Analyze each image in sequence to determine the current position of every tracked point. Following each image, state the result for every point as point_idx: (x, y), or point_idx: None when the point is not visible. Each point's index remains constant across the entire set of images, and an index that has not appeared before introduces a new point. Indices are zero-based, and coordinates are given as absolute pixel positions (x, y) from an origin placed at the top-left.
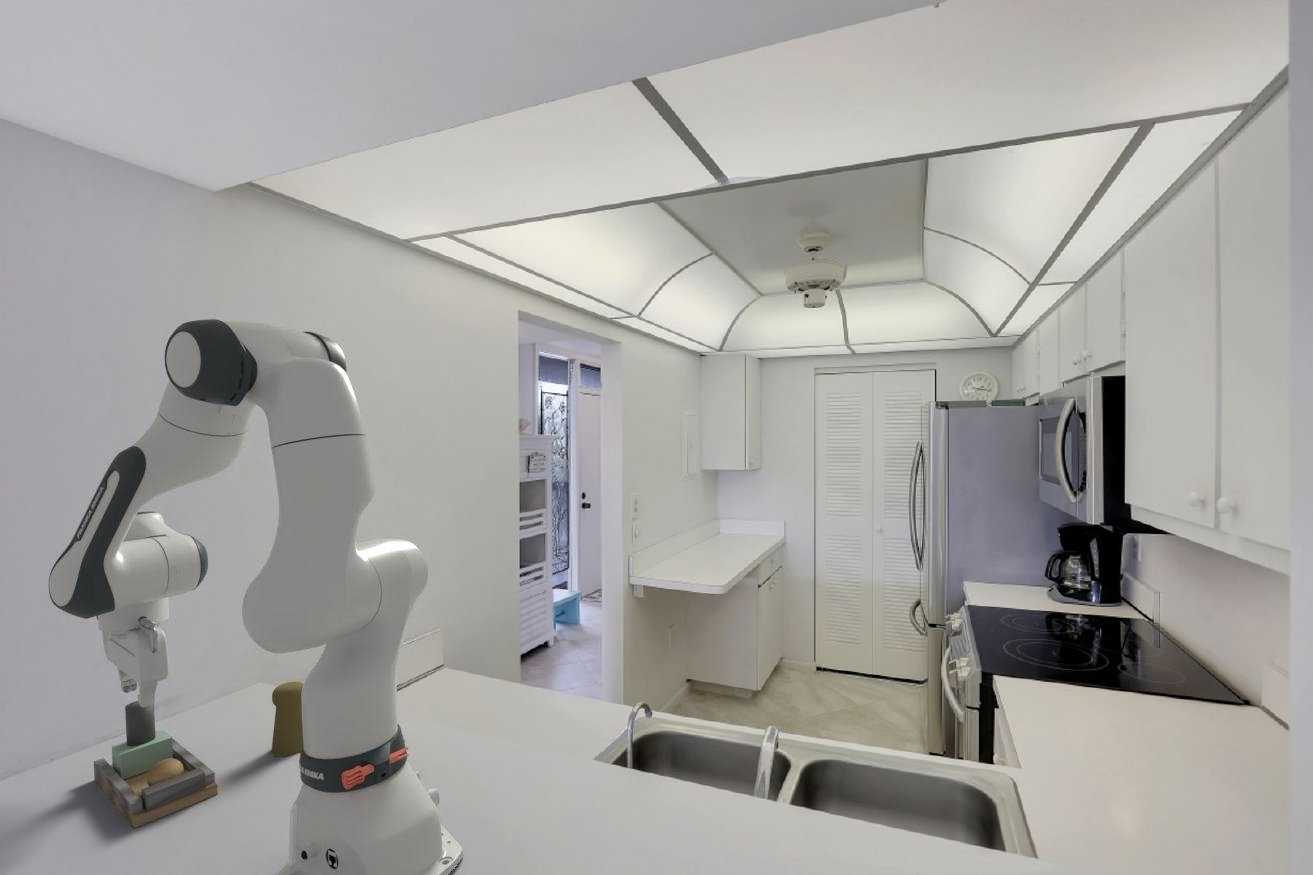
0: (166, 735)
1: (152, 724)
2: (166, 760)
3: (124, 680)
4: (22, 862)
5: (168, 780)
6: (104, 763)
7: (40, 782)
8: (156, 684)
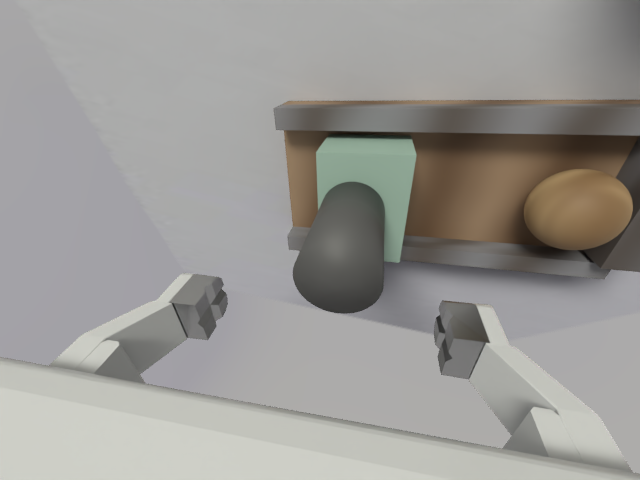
0: (380, 160)
1: (375, 214)
2: (605, 228)
3: (183, 333)
4: None
5: (637, 223)
6: None
7: (238, 269)
8: (588, 410)
